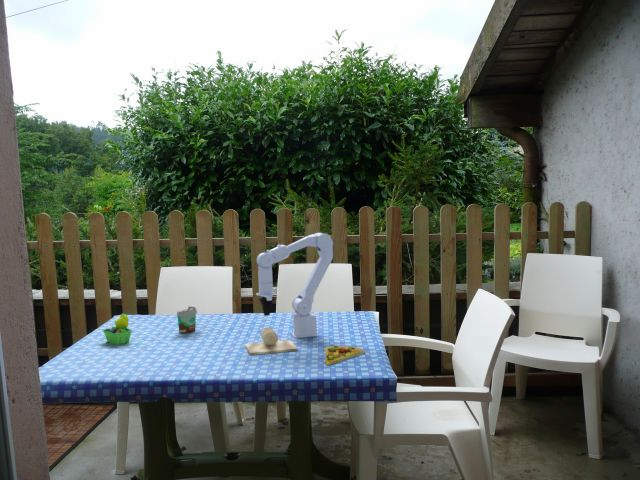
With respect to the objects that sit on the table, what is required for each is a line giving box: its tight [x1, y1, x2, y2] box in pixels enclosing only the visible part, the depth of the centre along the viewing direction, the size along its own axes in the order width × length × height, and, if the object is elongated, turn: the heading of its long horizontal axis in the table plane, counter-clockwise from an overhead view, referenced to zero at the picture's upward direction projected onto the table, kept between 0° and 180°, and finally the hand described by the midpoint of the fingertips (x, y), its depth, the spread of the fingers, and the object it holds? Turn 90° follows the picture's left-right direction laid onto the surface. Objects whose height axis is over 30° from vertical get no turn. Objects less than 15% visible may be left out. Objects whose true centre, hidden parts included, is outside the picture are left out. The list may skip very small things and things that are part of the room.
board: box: [244, 339, 298, 356], centre depth 216 cm, size 18×14×1 cm
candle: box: [260, 327, 279, 346], centre depth 220 cm, size 6×6×10 cm
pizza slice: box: [324, 345, 366, 367], centre depth 202 cm, size 16×21×3 cm
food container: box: [176, 305, 198, 335], centre depth 248 cm, size 12×6×10 cm, turn 168°
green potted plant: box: [102, 313, 133, 346], centre depth 232 cm, size 11×9×11 cm
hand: (266, 315), depth 230 cm, fingers closed
